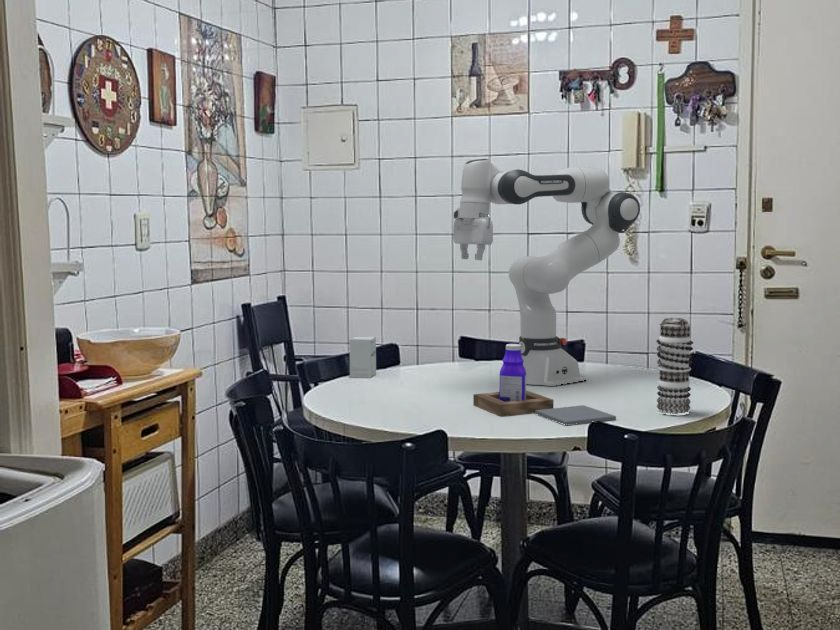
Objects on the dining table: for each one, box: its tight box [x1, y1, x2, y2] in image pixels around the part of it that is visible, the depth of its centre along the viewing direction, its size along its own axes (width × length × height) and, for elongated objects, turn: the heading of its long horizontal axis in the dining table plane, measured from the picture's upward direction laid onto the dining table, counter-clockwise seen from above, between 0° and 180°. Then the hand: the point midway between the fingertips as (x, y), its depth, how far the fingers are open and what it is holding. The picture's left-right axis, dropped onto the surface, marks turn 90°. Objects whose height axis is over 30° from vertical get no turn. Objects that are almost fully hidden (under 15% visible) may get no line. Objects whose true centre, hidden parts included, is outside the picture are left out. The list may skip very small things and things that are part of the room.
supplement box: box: [348, 336, 377, 379], centre depth 308 cm, size 7×7×13 cm
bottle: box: [498, 343, 527, 402], centre depth 256 cm, size 7×6×17 cm
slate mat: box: [534, 404, 617, 426], centre depth 245 cm, size 15×15×1 cm
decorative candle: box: [656, 317, 694, 414], centre depth 248 cm, size 9×9×25 cm
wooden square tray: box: [472, 389, 555, 417], centre depth 257 cm, size 16×16×3 cm
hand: (471, 259), depth 282 cm, fingers open, 8 cm apart
